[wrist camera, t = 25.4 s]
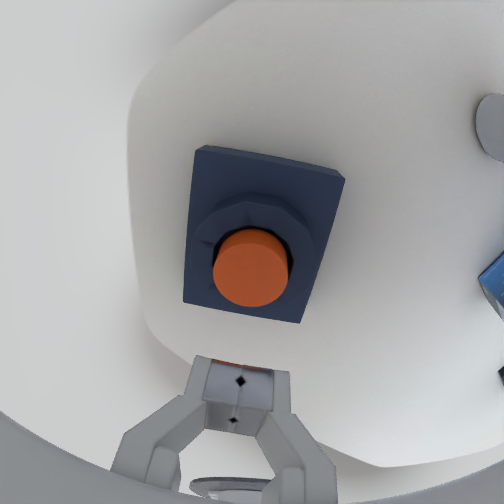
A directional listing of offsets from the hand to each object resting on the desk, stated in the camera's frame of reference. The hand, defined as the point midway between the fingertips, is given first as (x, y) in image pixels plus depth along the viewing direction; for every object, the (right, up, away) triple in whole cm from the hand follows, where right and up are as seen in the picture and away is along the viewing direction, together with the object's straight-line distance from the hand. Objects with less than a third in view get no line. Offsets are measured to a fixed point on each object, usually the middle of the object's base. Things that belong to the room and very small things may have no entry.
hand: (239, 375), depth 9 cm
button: (0, +4, +7) cm, 8 cm away
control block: (+1, +5, +10) cm, 11 cm away
